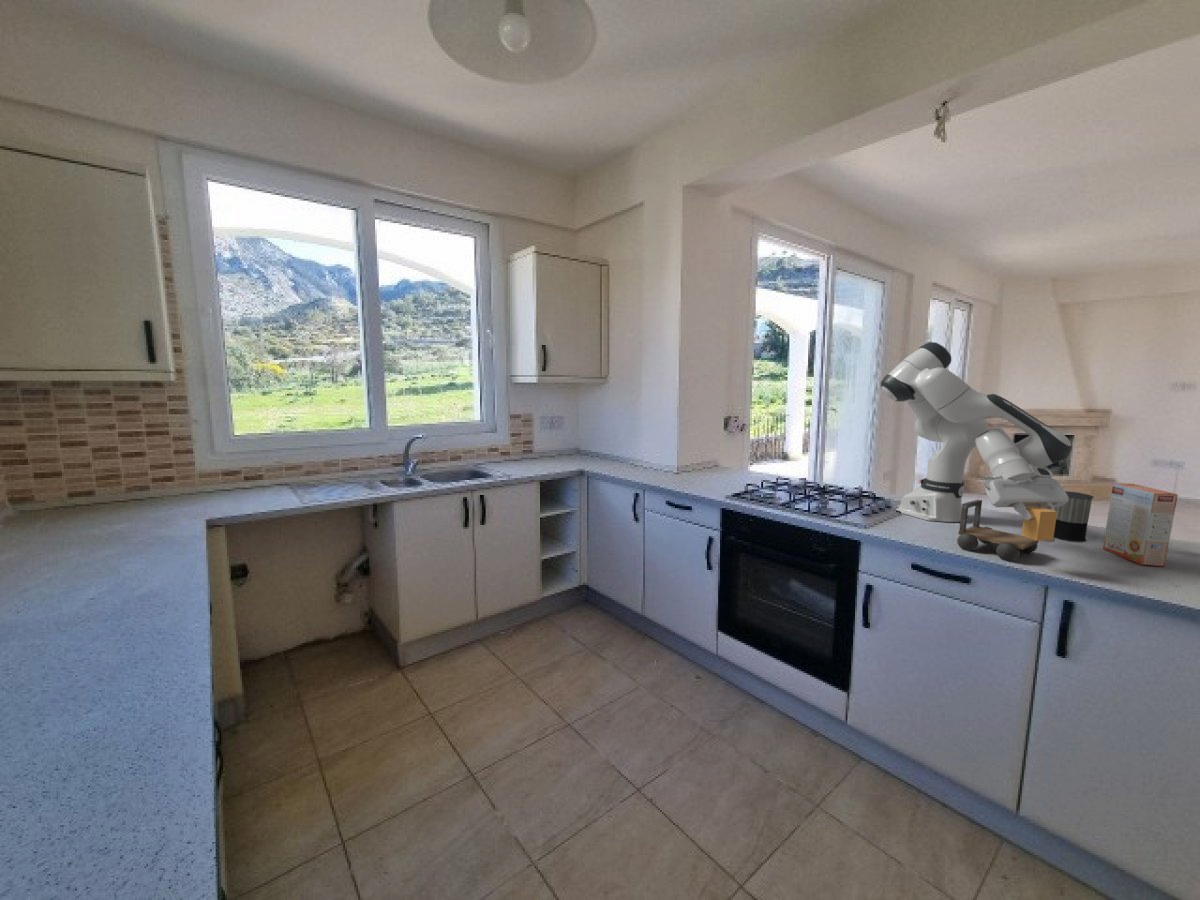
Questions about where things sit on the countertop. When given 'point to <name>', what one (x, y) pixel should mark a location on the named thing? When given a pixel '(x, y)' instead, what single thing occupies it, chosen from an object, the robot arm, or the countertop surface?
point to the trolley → (991, 536)
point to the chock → (1040, 524)
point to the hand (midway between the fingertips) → (1041, 519)
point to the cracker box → (1140, 523)
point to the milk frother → (1073, 517)
